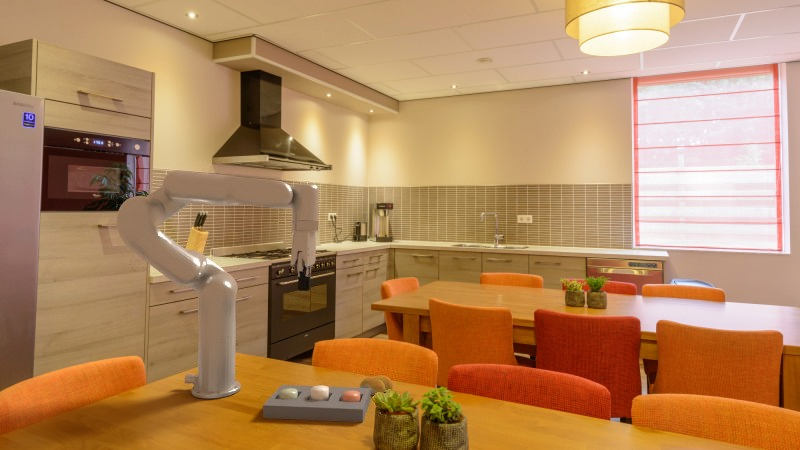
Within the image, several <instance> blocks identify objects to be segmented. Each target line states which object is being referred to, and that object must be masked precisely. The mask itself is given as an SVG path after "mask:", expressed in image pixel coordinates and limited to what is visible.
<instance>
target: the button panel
mask: <svg viewBox="0 0 800 450" xmlns="http://www.w3.org/2000/svg"><path fill="white" fill-rule="evenodd" d="M314 386H315V385H314ZM314 386H313V385H293V384H291V385H289V384H282V385H280V386H279V387H278V389H277V390H275V392H274V393H273V394H272V395H271V396H270V397H269V399H267V400H266V402H265V403H263V405H262V418H264V419H279V420H280V419H282V420H283V419H285V420H300V421H301V420H306V421H327V422H329V421H330V422H347V423H348V422H353V423H363V422H364V420H365V417H366V413H367V411H368V408H369V405H370V402H371V396H372V395H371V388H360V387H346V386H345V387H343V386H340V387H339V386H328V387H329V400H328V401H319V400H311V388H312V387H314ZM287 388H294V389H297V391H298V392H297V399H296V400H294V399H280V391H281V390H283V389H287ZM345 391H358V392H360V402H344V401H342V394H343V392H345Z"/></svg>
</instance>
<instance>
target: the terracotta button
mask: <svg viewBox="0 0 800 450" xmlns="http://www.w3.org/2000/svg"><path fill="white" fill-rule="evenodd" d="M342 401H344V402H360V392H358V391H345V392H343V394H342Z"/></svg>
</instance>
